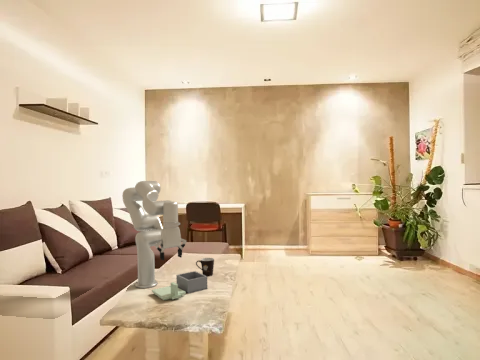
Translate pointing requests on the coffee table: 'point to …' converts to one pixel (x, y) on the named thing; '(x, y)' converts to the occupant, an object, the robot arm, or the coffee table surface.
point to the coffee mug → (207, 266)
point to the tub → (191, 282)
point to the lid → (169, 292)
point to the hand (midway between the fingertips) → (171, 258)
